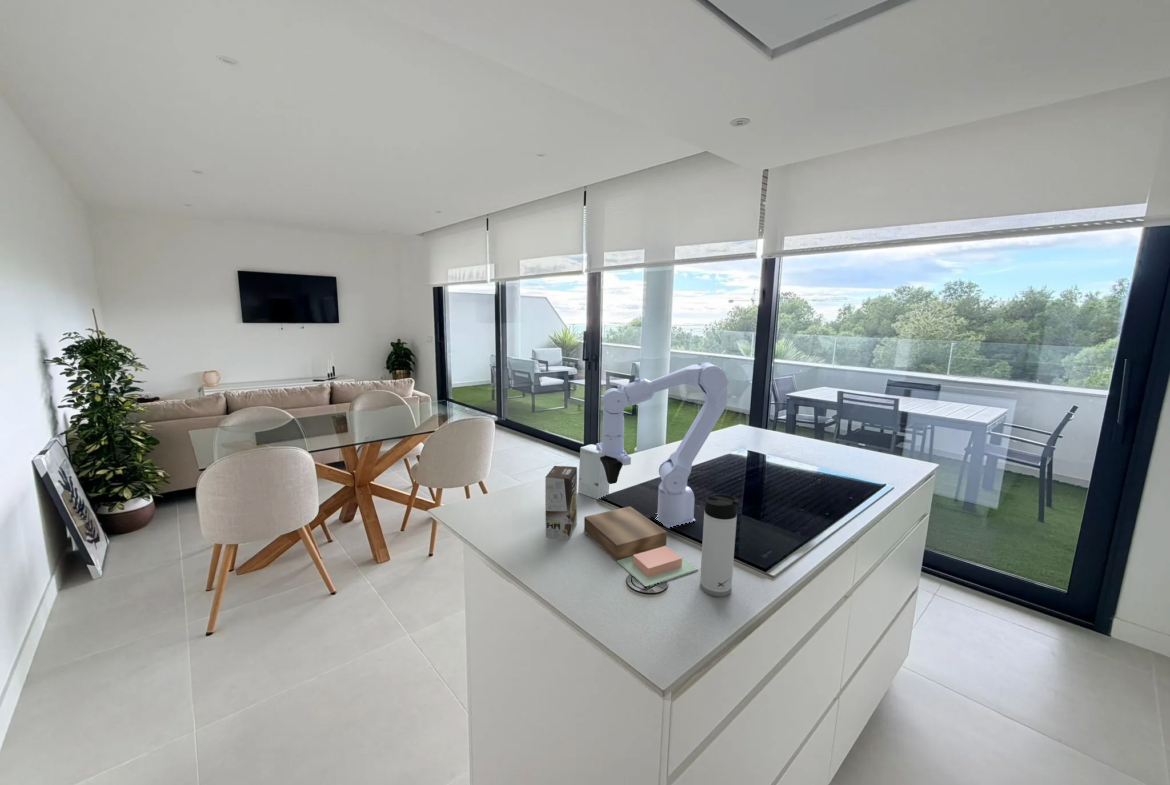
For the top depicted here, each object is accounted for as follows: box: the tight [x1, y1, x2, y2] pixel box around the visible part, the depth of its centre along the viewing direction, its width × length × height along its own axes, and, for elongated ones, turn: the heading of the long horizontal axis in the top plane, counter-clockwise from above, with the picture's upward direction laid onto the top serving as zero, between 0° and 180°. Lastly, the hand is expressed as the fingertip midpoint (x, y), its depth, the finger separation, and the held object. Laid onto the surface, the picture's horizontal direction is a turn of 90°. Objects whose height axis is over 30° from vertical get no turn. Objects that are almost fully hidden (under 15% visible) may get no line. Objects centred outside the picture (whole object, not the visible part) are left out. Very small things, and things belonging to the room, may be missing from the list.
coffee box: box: [544, 465, 578, 541], centre depth 117 cm, size 9×6×16 cm
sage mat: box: [617, 545, 699, 586], centre depth 102 cm, size 14×11×1 cm
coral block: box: [633, 545, 682, 577], centre depth 102 cm, size 9×6×2 cm, turn 117°
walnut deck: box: [583, 506, 668, 562], centre depth 114 cm, size 14×16×4 cm
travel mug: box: [699, 494, 741, 598], centre depth 93 cm, size 6×7×20 cm
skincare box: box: [577, 444, 610, 500], centre depth 140 cm, size 8×6×15 cm
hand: (612, 482), depth 123 cm, fingers closed
